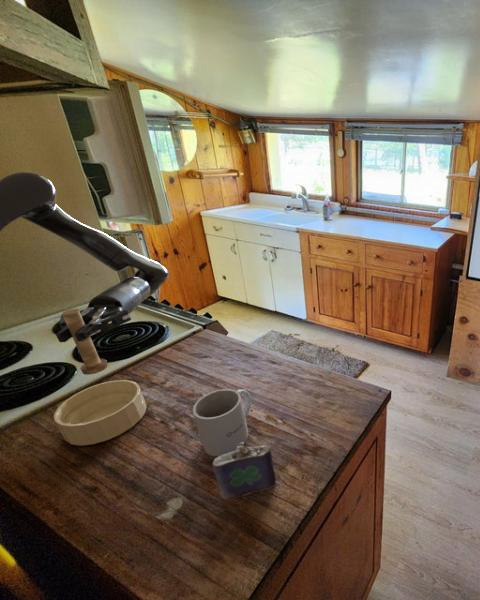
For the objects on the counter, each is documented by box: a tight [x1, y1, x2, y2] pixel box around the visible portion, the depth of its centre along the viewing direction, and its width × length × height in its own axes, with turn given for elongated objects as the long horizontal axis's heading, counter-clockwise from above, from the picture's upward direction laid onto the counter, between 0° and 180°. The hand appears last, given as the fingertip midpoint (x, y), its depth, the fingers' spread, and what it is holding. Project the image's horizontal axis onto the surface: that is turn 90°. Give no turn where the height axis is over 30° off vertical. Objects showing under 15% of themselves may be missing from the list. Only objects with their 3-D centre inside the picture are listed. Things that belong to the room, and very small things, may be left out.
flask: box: [212, 442, 277, 501], centre depth 58 cm, size 9×3×11 cm, turn 110°
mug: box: [192, 388, 252, 457], centre depth 69 cm, size 12×9×10 cm
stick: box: [61, 308, 109, 376], centre depth 71 cm, size 4×4×15 cm
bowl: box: [53, 379, 147, 447], centre depth 71 cm, size 14×14×6 cm
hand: (69, 337), depth 67 cm, fingers closed on stick, 2 cm apart
